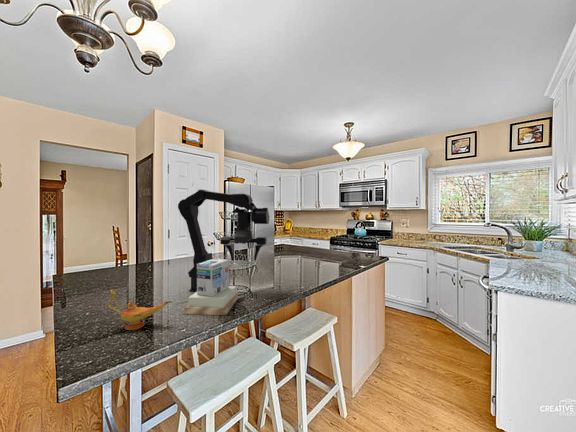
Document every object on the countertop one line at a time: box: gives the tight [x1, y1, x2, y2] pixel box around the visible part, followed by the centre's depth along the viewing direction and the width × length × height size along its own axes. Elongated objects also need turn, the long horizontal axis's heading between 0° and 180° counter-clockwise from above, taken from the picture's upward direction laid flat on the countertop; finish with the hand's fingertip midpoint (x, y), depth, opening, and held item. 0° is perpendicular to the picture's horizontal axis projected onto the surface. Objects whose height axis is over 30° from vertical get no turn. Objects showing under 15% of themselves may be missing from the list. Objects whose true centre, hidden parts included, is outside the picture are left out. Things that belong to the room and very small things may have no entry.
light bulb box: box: [196, 257, 230, 297], centre depth 92 cm, size 11×7×11 cm, turn 161°
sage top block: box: [188, 285, 237, 308], centre depth 92 cm, size 12×14×3 cm
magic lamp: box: [106, 289, 173, 331], centre depth 76 cm, size 7×18×11 cm, turn 99°
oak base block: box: [183, 292, 239, 316], centre depth 93 cm, size 14×16×3 cm
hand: (244, 260), depth 108 cm, fingers open, 9 cm apart
